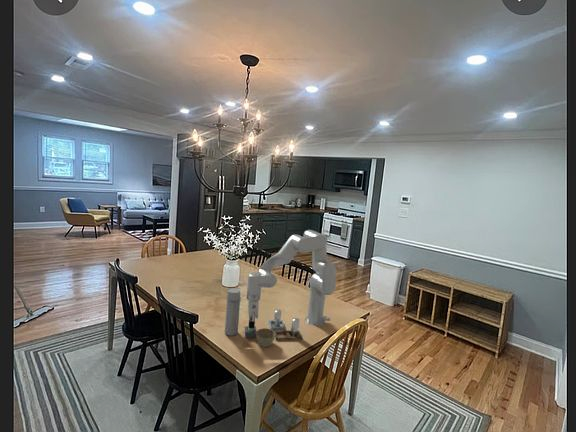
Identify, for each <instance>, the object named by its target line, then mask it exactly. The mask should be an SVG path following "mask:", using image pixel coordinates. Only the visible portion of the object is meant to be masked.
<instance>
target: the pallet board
mask: <svg viewBox="0 0 576 432" xmlns="http://www.w3.org/2000/svg"><path fill="white" fill-rule="evenodd" d="M273 331H274V332H275V337H274V340H275V341H302V340H303V336H302V334H301V332H300V330H299V329H298V337H291V336H290V335H291V330H273Z"/></svg>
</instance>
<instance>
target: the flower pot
mask: <svg viewBox="0 0 576 432" xmlns="http://www.w3.org/2000/svg"><path fill="white" fill-rule="evenodd" d="M256 331H257V332H256V340H257V343H258V345H259V347H262V348H269V347H270V346H271V345H272V344H273V342H274V340H275V332H274V331H275V330H271V329H270V328H266V327H265V328H260V329H256Z"/></svg>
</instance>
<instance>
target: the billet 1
mask: <svg viewBox="0 0 576 432" xmlns="http://www.w3.org/2000/svg"><path fill="white" fill-rule="evenodd" d="M273 320H274V323H272V324H273V326H272V327H281V323H280V321H281V320H282V310H281V309H279V308H278V309H275V310H274V314H273Z"/></svg>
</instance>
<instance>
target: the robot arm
mask: <svg viewBox="0 0 576 432" xmlns="http://www.w3.org/2000/svg"><path fill="white" fill-rule="evenodd" d="M327 244H328V238H327V237H326V235H324V234H322V233H320V232H318V231H315V230H313V229H307V230H304V232H303V236H301V235H300V234H292V235H290V237H288V239H287V241H286V242H285V243H284V244H283V246H281V248H280V249H279V250H278V252H277V253H276V254H274V255H273V256H272V255H271V257H269V258H268V259H266V260H265V261H264V262H263V263H262V265H261V266H260V267H259V269H258V270H257V272H252V273H251V272H250V273H249V274H248V276H247V287H246V289H247V290H246V300H247V301H248V303H247V304H248V305H247V306H248V308H247V309H248V310H247V311H248V312H247V313H248V318H249V319H248V326H249V328H254V327H255V326H256V325H255V323H256V319H259V301H260V300H261V299H262V298H261V297H262V288H267V289H268V288H273V287H275V286H276V285H277V283H278V279H277V277H276V276H275V275H274V274H273V273H272V271H273V270H274V269H275V268H276V267H279V266H282V265H286V264H287V265H288V264H290V263H291V261H292V260H293V258H294V257H295V256H296V255H297V254H298V253H300V254H306V253H307V254H308V253H311V254H312V262H311V263H312V269H313V271H314V272H315V273H312V275H311V276H310V279H309V287H310V288H309V299H308V309H307V317H305V318H304V322H305V323H306V324H307V325H310V326H313V327H314V326H315V327H321V326H322V327H324V326H325V325H326V324H325V323H326V322H328V321H329V322H330V321H331V318H330V317H328V316H327V315H325V316H324V311H325V301H326V296H330V295H333V293H334V292H335V290H336V285H337V267H336V266H335V263H333V262H332V261H330V260H329V259H328V254H327Z"/></svg>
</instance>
